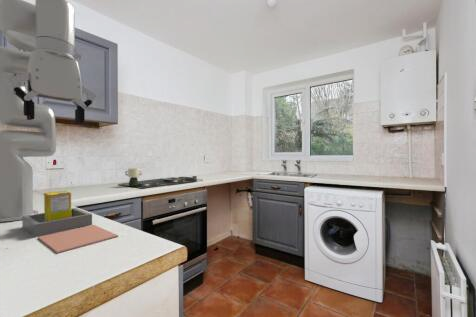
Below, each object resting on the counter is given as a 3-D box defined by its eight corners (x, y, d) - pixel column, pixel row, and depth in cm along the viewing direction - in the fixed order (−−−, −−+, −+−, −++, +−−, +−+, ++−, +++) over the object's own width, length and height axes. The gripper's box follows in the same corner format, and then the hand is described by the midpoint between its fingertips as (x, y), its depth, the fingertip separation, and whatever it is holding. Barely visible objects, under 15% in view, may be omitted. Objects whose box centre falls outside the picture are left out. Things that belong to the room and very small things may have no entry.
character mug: (142, 185, 172) (142, 168, 172) (141, 186, 165) (141, 168, 165) (126, 185, 169) (126, 168, 168) (124, 187, 162) (124, 168, 162)
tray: (22, 227, 73) (22, 216, 73) (75, 217, 84) (75, 207, 84) (35, 237, 64) (35, 224, 64) (92, 224, 76) (92, 214, 76)
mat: (37, 238, 63) (37, 236, 63) (93, 225, 75) (93, 224, 75) (57, 253, 54) (57, 251, 54) (118, 236, 65) (118, 235, 65)
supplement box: (66, 222, 79) (66, 190, 78) (71, 225, 75) (71, 192, 75) (43, 226, 74) (43, 192, 74) (48, 230, 70) (48, 194, 70)
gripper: (88, 66, 65) (89, 126, 66) (2, 42, 52) (3, 118, 52) (100, 60, 61) (101, 124, 61) (10, 31, 47) (10, 115, 47)
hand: (56, 121), depth 57 cm, fingers open, 9 cm apart
